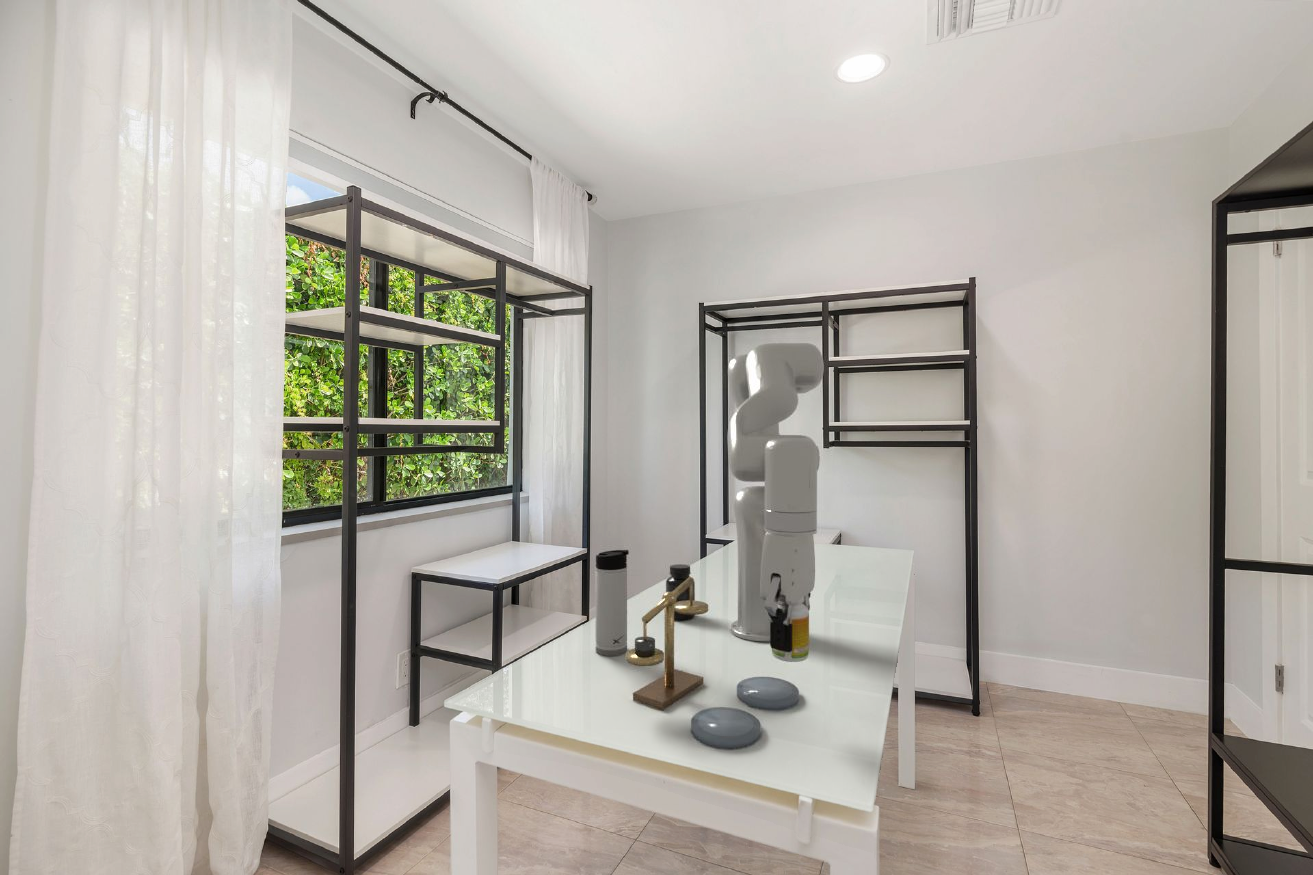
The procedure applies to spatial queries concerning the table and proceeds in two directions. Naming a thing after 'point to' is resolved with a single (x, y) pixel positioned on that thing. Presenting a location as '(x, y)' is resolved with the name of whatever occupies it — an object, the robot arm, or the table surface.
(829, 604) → the table surface
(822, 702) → the table surface
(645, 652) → the balance
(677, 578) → the supplement bottle
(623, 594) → the travel mug
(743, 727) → the dish low side
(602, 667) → the table surface
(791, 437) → the robot arm
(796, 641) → the supplement bottle
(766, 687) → the dish high side
